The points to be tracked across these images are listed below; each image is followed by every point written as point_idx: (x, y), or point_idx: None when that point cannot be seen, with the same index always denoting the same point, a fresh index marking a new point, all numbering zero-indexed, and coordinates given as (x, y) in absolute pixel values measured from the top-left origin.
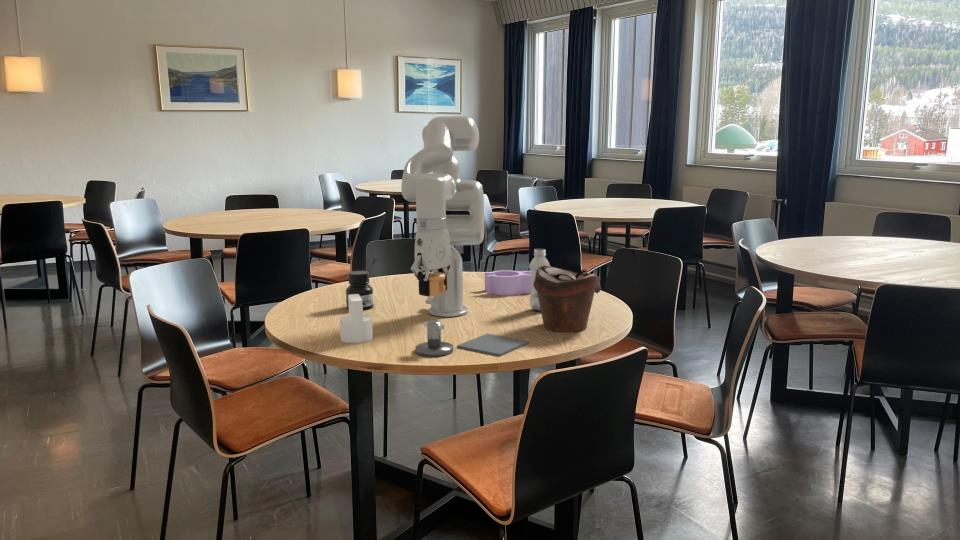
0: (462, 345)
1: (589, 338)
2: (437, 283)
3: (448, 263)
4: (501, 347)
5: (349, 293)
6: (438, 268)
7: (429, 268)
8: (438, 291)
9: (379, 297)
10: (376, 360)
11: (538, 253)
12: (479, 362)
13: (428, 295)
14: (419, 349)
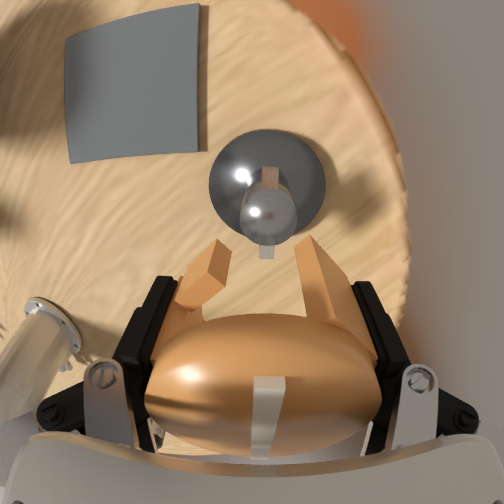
0: (189, 138)
1: (7, 7)
2: (336, 307)
3: (74, 465)
4: (142, 39)
5: (162, 442)
6: (317, 466)
7: (490, 442)
8: (318, 255)
9: None
10: (393, 259)
11: None
12: (283, 17)
13: (365, 281)
14: (312, 208)
